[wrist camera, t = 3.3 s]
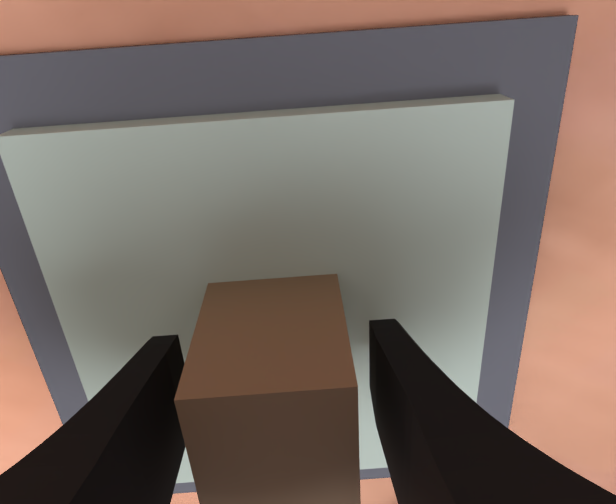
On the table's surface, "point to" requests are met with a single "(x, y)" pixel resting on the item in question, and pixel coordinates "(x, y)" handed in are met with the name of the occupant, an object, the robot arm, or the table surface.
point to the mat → (302, 94)
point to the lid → (270, 268)
